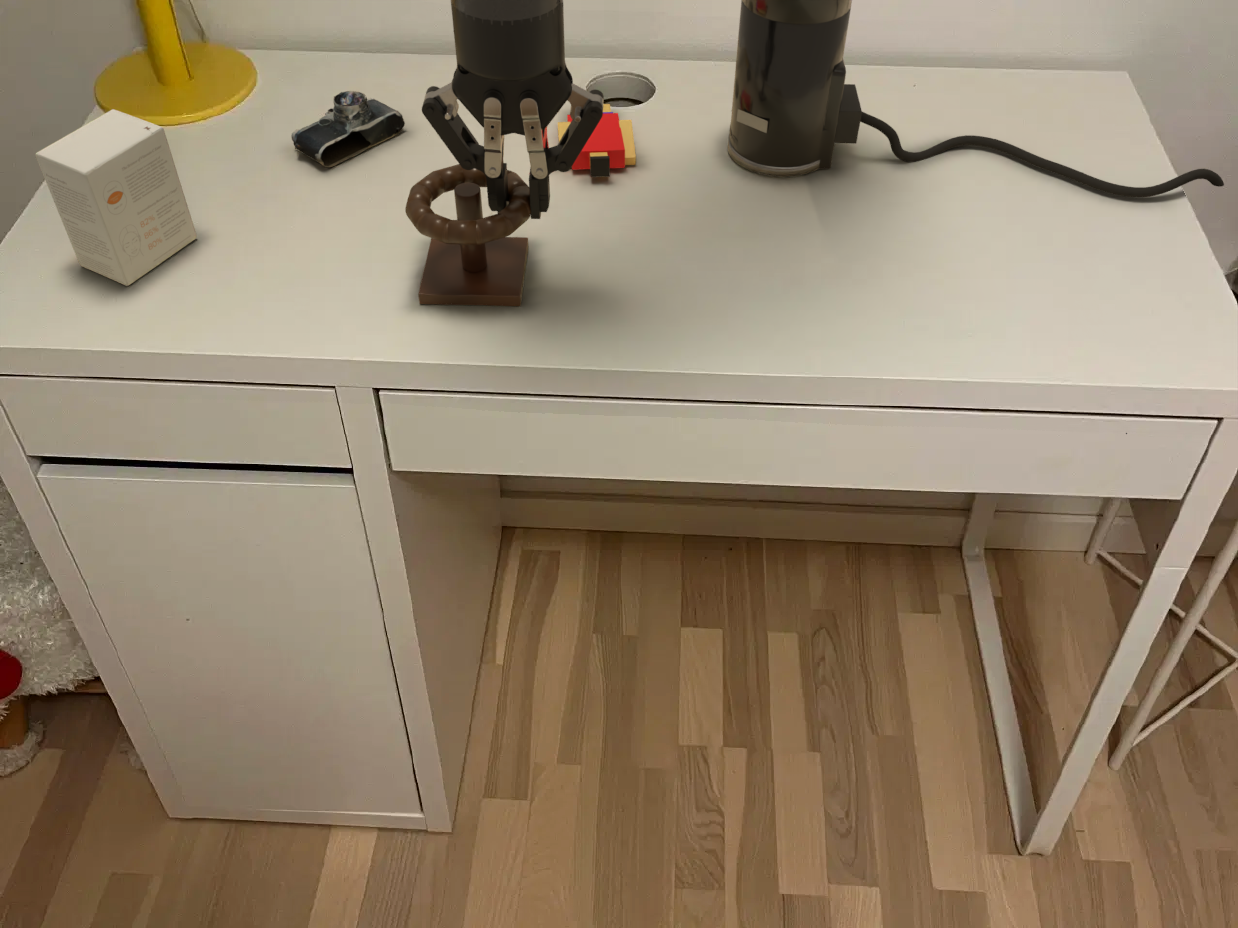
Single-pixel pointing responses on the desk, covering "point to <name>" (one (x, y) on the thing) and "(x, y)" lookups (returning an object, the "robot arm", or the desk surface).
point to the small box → (118, 195)
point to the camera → (348, 129)
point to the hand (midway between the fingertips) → (520, 212)
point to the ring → (466, 229)
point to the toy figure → (605, 145)
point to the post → (474, 264)
